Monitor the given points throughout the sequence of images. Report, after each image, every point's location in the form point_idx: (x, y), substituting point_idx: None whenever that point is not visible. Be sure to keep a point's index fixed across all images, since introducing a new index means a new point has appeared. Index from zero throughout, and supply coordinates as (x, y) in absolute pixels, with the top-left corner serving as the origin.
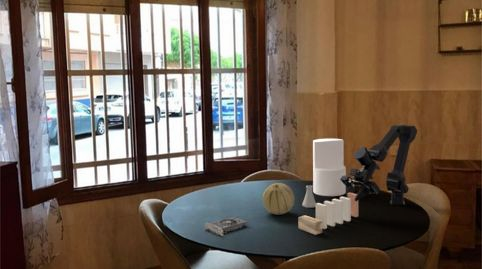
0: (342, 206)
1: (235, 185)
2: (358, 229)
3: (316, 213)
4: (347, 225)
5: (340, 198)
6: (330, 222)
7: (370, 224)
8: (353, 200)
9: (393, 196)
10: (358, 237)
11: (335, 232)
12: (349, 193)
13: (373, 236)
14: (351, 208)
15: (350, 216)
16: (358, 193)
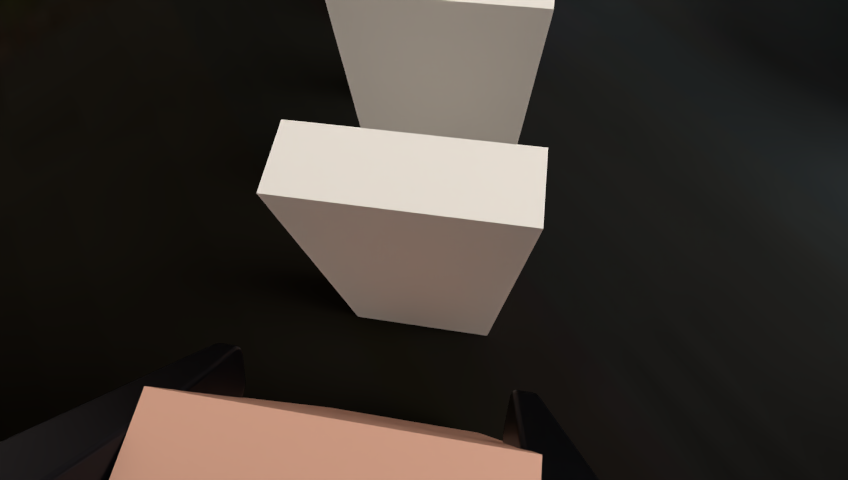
0: (348, 62)
1: None
2: (184, 153)
3: None
4: None
5: (518, 160)
6: None
7: (122, 347)
8: (309, 408)
9: None
10: (126, 25)
11: (315, 6)
12: (443, 453)
13: (24, 99)
14: (394, 420)
15: (349, 300)
16: (10, 468)
